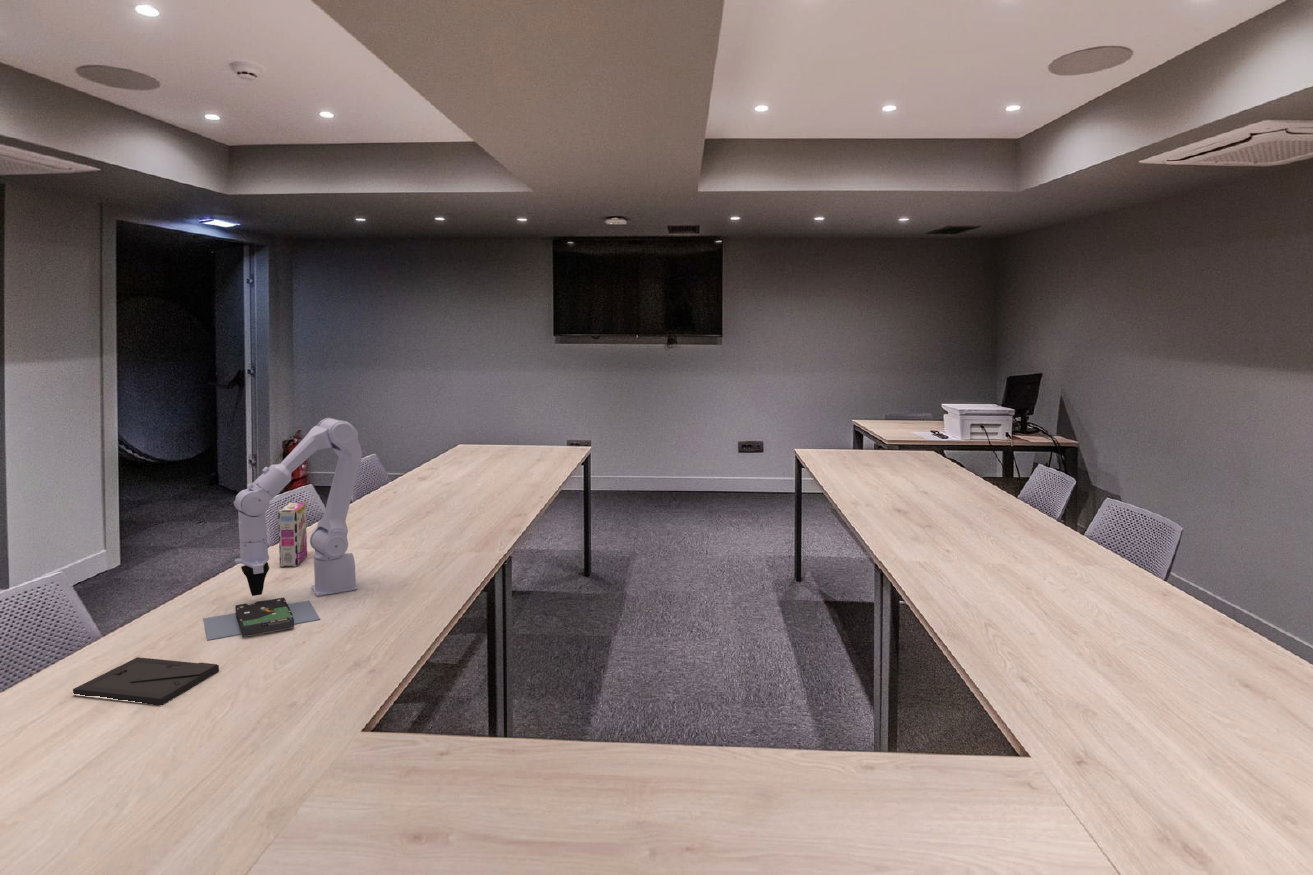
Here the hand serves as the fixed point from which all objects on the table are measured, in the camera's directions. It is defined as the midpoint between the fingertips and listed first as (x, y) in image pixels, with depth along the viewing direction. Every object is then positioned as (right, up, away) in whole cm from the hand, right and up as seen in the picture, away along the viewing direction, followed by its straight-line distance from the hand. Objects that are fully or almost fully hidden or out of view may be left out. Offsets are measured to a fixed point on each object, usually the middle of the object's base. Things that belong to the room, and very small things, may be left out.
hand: (256, 594), depth 169 cm
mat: (+6, -4, -8) cm, 10 cm away
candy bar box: (-9, +2, +34) cm, 36 cm away
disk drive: (+7, -4, -10) cm, 13 cm away
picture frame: (+2, -9, -38) cm, 39 cm away
